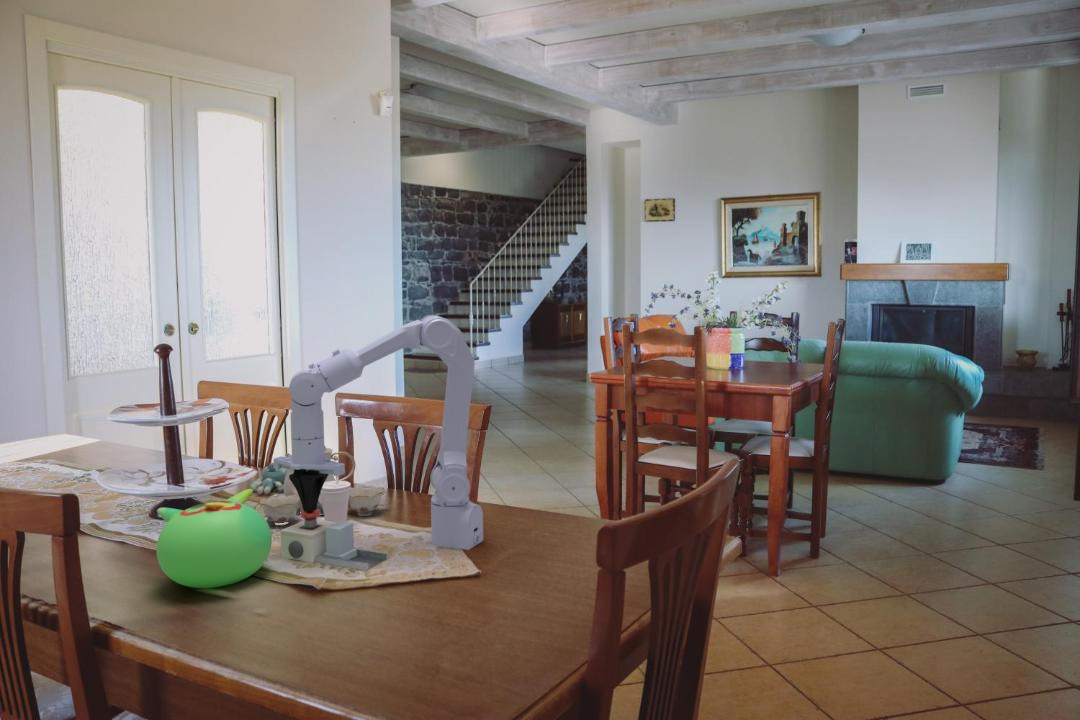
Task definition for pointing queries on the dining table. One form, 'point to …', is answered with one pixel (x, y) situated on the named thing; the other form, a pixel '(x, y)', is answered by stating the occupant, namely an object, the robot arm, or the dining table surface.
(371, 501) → the chinaware
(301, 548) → the end cabinet
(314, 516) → the red push button
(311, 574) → the dining table surface
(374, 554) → the rail
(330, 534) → the carriage
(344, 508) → the smoothie
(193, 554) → the green rounded blob
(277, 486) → the stuffed animal
